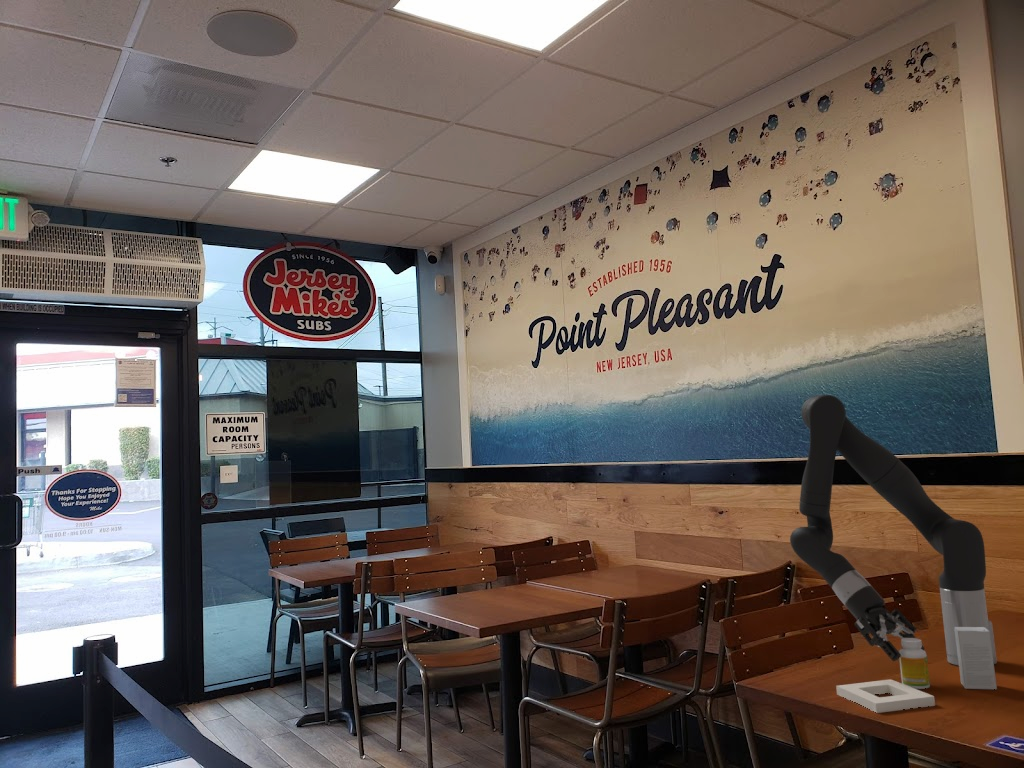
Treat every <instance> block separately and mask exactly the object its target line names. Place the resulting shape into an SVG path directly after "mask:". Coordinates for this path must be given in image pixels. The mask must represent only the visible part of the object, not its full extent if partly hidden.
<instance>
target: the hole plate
mask: <svg viewBox="0 0 1024 768" xmlns="http://www.w3.org/2000/svg"><path fill="white" fill-rule="evenodd" d="M835 688H836V695H837V696H840V697H841V698H843V697H844V699H845V698H846V699H845V700H848V701H850V700H851V701H850V702H852V701H853V702H852V703H854V702H856V703H858V704H860V705H862V706H861V707H863V706H864V707H863V708H865V707H866V708H865V709H867V708H868V709H867V710H869V709H870V711H871V712H873V711H874V712H873V713H875V712H876V714H881V713H887V712H888V713H889V712H897V711H904V710H903V709H905V710H911V709H910V708H913V709H918V707H921V708H926V707H928V706H929V707H934V706H936V701H935V696H934V695H932V694H929V693H927V692H925V691H922V690H920V689H914V688H912V687H909V686H907V685H904V684H902V682H899V681H896V680H893V679H891V678H890V679H881V680H875V681H865V682H857V683H848V684H842V685H841V684H839V685H835ZM885 693H888V694H889V693H890V694H889V695H890V696H880V697H879V696H877V695H875V694H879V695H884V694H885ZM891 694H892V695H891ZM885 695H886V694H885ZM856 703H855V704H856ZM858 704H857V705H858ZM860 705H859V706H860Z"/></svg>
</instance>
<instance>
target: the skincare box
mask: <svg viewBox="0 0 1024 768" xmlns="http://www.w3.org/2000/svg"><path fill="white" fill-rule="evenodd" d="M954 630H955V637H956V645H957V653H958V662H959V665H958V668H959V676H960V677H959V678H960V683H961V685H962V686H963V688H964V689H966V690H994V689H995V690H998V687H997V679H996V672H995V664H994V662H993V654H992V646H991V639H990V631H988V630H987V629H986V628H985V627H954ZM995 690H994V691H995Z"/></svg>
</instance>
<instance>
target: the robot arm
mask: <svg viewBox="0 0 1024 768" xmlns="http://www.w3.org/2000/svg"><path fill="white" fill-rule="evenodd" d="M800 413H801V414H800V415H801V419H802V421H803V424H805V426H806V427H807V428H808V429H809V450H808V456H807V460H806V464H805V467H804V471H803V475H802V480H801V485H800V493H799V494H800V496H799V505H798V506H799V512H800V514H801V515H803V516H805V517H806V522H807V526H800V527H797V528H794V529H793V531H791V533H790V538H789V542H790V545H791V548H792V551H794V553H795V555H797V557H798V558H799V559H801V560H802V562H804V563H805V564H807V565H808V566H809V567H811V569H813V570H814V571H816V572H817V573H818V574H819V575H820V576H821V578H823V580H825V582H826V583H827V584H828V585H829V587H830V588H831V589H832V591H833V592H834V594H835V595H836V596H837V598H838V599H839V600H840V601H841V603H842V604H843V605H844V606H845V607H846V609H847V610H848V611H849V612H850V614H851V615H852V616H853V617H854V618H855V619H856V621H855V622H854V627H855V628H856V629H857V630H858V632H859V633H860V634H861V635H862V637H863V638H864V639H865V640H866V641H867V643H868V644H869V645H870V646H871V647H875V646H876V647H878V648H881V650H883V651H884V653H885V654H886V655H887V656H888V658H889V659H891V661H892V662H896V661H898V660H899V658H900V657H901V654H900V653H899V650H898V649H897V648H896V647H895V646H894V644H893V643H892V642H891V641H890V640H888V636H887V635H892V636H894V637H899V638H900V639H902V638H916V636H915V635H914V633H915V632H916V631H917V628H916V627H915V626H914V625H913V624H912V623H911V621H909V620H908V619H907V617H906V616H905V615H904V614H903V612H901V611H900V610H899V609H897V608H894V610H892V611H891V612H890V611H889V610H887V608H885V607H886V606H885V605H886V601H885V599H884V598H883V596H881V595H880V594H879V593H878V592H877V590H876V589H875V588H874V587H873V586H872V585H871V583H869V581H868V580H867V579H866V578H865V577H864V576H863V575H862V574H861V573H859V572H858V570H857V569H855V567H854V566H853V565H852V563H851V562H849V560H848V559H847V558H846V557H845V556H843V555H842V554H841V553H838V552H834V551H832V550H831V548H832V546H833V543H834V542H833V541H834V532H833V526H832V525H833V524H832V517H831V512H830V510H831V501H832V491H833V482H834V481H833V480H834V479H833V478H834V470H835V462H836V455H837V452H838V453H839V454H840V455H841V456H842V457H843V458H844V459H845V461H846V462H847V463H848V464H849V465H850V466H851V468H853V470H854V471H856V473H858V475H859V476H860V477H861V478H862V479H863V480H864V481H865V482H866V483H867V484H868V485H869V486H870V487H871V488H872V489H873V490H874V491H875V492H876V493H877V494H879V496H881V497H882V499H884V500H885V501H886V502H887V503H888V504H890V505H891V506H892V507H893V508H894V509H896V511H898V512H899V513H900V514H902V515H903V516H904V517H905V518H906V519H907V520H908V521H909V522H910V523H911V524H912V525H913V527H915V528H916V529H917V530H918V532H919V533H920V534H921V535H922V536H923V537H924V539H925V540H926V541H927V543H928V544H929V545H930V546H931V547H932V548H933V549H934V550H935V551H936V552H937V553H939V554H940V555H942V556H943V560H942V561H943V570H942V573H940V574H939V576H938V583H939V584H938V586H939V593H940V602H941V611H942V621H943V631H944V637H945V638H944V641H945V649H946V656H947V657H946V659H947V662H948V664H952V665H954V666H959V662H958V653H957V645H956V637H955V630H954V627H985V628H986V629H987V630H988V631H990V639H991V646H992V654H993V662H994V665H995V664H997V662H998V660H997V653H996V645H995V637H994V629H993V622H992V621H991V620H989V618H988V617H989V616H988V609H987V602H986V601H987V600H986V593H985V579H986V575H987V565H986V564H987V563H986V551H985V543H984V538H983V535H982V533H981V530H980V529H979V528H978V527H977V525H975V524H973V523H972V522H969V521H967V520H962V519H956V518H954V517H953V516H951V515H950V514H948V513H946V511H944V510H943V509H942V508H941V507H940V506H939V505H937V504H936V503H935V502H934V501H933V500H932V499H931V498H930V497H929V495H928V493H926V491H925V489H924V488H923V486H922V484H921V483H920V481H919V479H918V477H916V476H915V473H913V472H912V471H911V469H910V468H909V467H908V466H907V465H905V463H903V462H902V460H900V459H899V458H898V457H897V456H896V455H895V454H894V453H893V452H891V451H890V450H889V449H888V448H886V447H884V446H883V445H882V444H880V443H879V442H877V441H876V440H874V439H872V438H871V437H869V435H866V434H865V433H863V432H862V431H861V430H860V429H859V428H857V426H855V425H854V424H853V423H852V421H851V420H850V419H849V418H848V417H847V416H846V415H847V414H846V413H847V411H846V408H845V405H844V403H843V402H842V400H840V399H839V398H838V397H837V396H835V395H831V394H819V395H814V396H811V397H809V398H808V399H806V400H805V402H803V404H802V407H801V412H800ZM870 635H871V636H872V637H871V636H870ZM921 649H922V650H924V651H925V647H924V646H923V645H922V647H921Z"/></svg>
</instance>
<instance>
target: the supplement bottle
mask: <svg viewBox="0 0 1024 768" xmlns="http://www.w3.org/2000/svg"><path fill="white" fill-rule="evenodd" d="M900 644H901V647H902V648H901V649H899V650H898V652H899V653H900V654H901V657H900V658H899V659H898V660H899V668H900V679H901V684H904V685H907V686H909V687H912V688H914V689H917V690H925V688H926V689H928V688H930V687H931V684H930V674H929V665H928V655H927V652H926V651H925V649H924V650H922V649H921V647H922V646H923V643H922V639H920V638H916V637H915V638H900Z"/></svg>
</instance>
